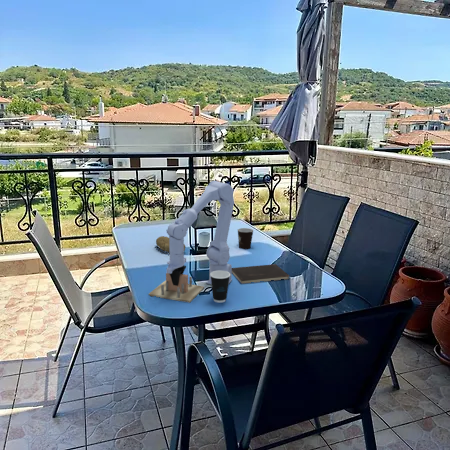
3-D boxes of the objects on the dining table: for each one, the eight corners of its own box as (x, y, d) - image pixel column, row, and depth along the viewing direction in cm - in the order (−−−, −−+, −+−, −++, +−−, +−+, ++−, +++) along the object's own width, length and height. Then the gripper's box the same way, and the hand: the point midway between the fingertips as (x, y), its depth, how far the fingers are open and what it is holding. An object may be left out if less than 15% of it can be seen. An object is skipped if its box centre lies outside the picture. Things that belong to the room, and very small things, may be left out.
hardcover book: (289, 280, 185) (289, 275, 185) (241, 285, 179) (241, 280, 178) (275, 268, 200) (275, 263, 199) (230, 272, 193) (230, 267, 193)
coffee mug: (252, 250, 225) (253, 232, 222) (237, 249, 225) (237, 232, 223) (251, 243, 236) (252, 226, 234) (236, 243, 236) (237, 226, 234)
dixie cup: (219, 294, 168) (219, 268, 165) (233, 300, 163) (234, 274, 160) (205, 300, 162) (205, 273, 159) (220, 306, 157) (220, 279, 154)
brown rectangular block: (188, 290, 168) (188, 274, 167) (186, 292, 167) (186, 276, 165) (168, 287, 171) (167, 271, 169) (166, 289, 169) (165, 273, 168)
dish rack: (204, 288, 173) (204, 277, 172) (189, 302, 159) (189, 291, 158) (165, 282, 179) (165, 271, 177) (148, 295, 165) (148, 284, 164)
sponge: (153, 249, 227) (162, 252, 209) (155, 235, 227) (164, 237, 209) (176, 251, 232) (187, 254, 214) (178, 237, 232) (188, 239, 214)
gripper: (175, 246, 173) (175, 276, 176) (159, 256, 159) (159, 289, 163) (190, 248, 171) (190, 278, 174) (175, 259, 157) (176, 291, 161)
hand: (176, 284), depth 168 cm, fingers closed on brown rectangular block, 2 cm apart
